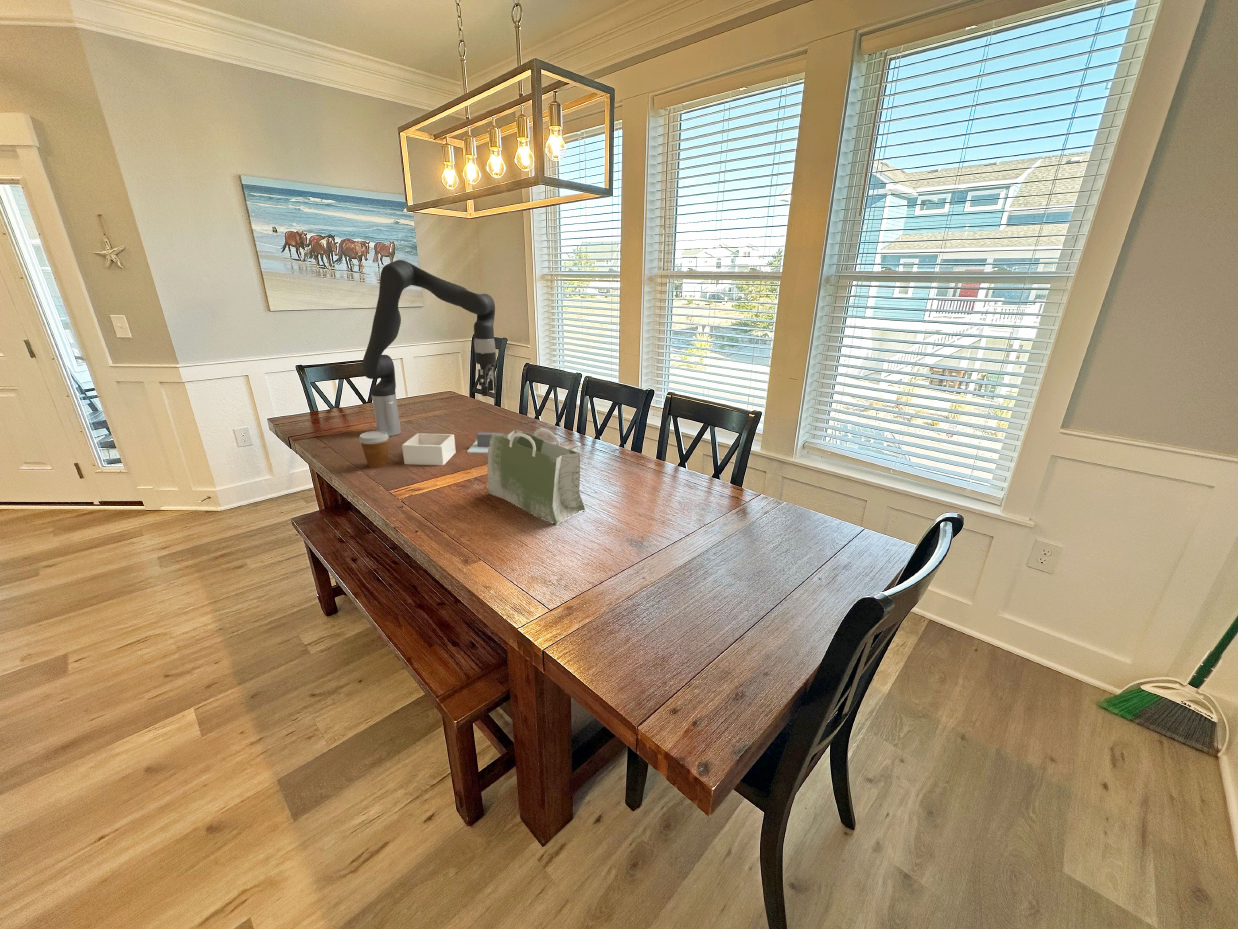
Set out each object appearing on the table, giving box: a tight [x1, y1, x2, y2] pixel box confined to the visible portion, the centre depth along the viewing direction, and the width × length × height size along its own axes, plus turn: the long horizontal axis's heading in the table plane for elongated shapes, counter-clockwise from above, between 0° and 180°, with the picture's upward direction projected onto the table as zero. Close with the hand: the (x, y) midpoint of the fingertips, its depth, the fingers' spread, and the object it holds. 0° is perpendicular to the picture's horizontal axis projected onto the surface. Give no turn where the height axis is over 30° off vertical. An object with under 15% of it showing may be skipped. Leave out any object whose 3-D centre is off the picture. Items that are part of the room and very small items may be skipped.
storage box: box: [401, 432, 457, 466], centre depth 181 cm, size 14×14×8 cm
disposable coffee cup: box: [358, 430, 390, 469], centre depth 172 cm, size 10×10×12 cm
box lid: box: [466, 431, 505, 455], centre depth 194 cm, size 15×15×7 cm
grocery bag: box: [487, 427, 586, 525], centre depth 147 cm, size 32×14×23 cm, turn 51°
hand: (487, 393), depth 187 cm, fingers open, 8 cm apart
